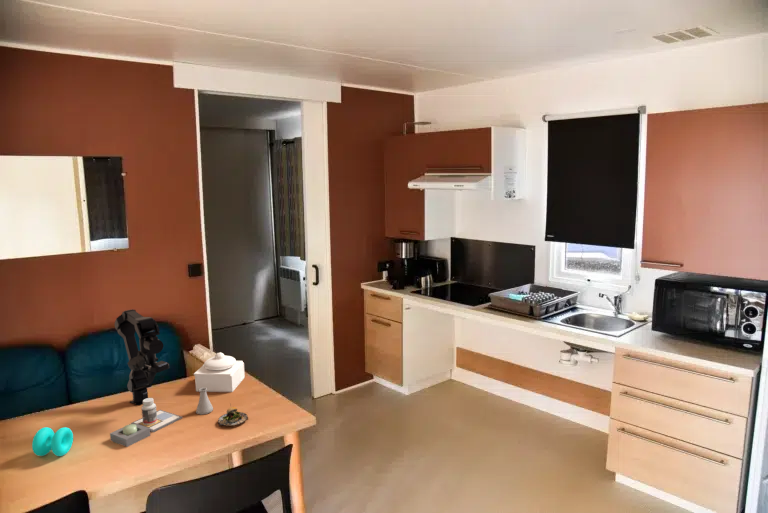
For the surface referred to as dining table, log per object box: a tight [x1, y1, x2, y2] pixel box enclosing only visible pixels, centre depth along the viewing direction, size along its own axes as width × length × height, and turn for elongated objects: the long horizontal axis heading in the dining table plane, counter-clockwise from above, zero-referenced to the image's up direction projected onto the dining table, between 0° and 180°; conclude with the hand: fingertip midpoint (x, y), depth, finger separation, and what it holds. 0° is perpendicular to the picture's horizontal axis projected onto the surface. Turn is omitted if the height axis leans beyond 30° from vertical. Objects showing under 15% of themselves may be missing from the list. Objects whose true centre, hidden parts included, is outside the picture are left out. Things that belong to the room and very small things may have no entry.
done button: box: [122, 423, 137, 436], centre depth 205 cm, size 5×5×4 cm
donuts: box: [31, 426, 74, 457], centre depth 194 cm, size 10×10×10 cm
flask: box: [195, 388, 214, 415], centre depth 227 cm, size 7×7×10 cm
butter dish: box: [193, 351, 246, 393], centre depth 255 cm, size 18×18×16 cm
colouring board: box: [131, 409, 183, 433], centre depth 219 cm, size 14×14×1 cm
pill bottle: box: [141, 397, 157, 425], centre depth 216 cm, size 5×5×10 cm
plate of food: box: [217, 403, 249, 428], centre depth 217 cm, size 12×12×8 cm
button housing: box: [109, 421, 151, 448], centre depth 205 cm, size 10×10×3 cm
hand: (150, 383), depth 226 cm, fingers closed
